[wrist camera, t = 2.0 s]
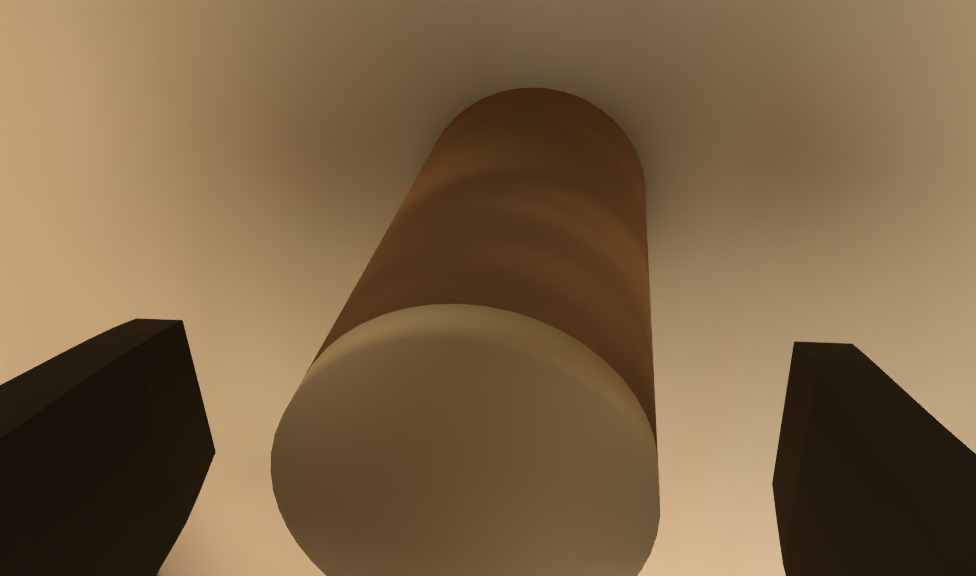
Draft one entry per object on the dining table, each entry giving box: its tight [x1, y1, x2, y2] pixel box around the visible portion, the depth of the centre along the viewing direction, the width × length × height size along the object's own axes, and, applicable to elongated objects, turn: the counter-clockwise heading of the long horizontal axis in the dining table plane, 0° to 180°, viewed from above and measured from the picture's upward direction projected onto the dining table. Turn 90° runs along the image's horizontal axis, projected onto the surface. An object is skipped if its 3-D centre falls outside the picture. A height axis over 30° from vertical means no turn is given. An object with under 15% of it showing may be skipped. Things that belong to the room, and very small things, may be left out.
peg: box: [271, 88, 660, 576], centre depth 12 cm, size 4×4×8 cm
